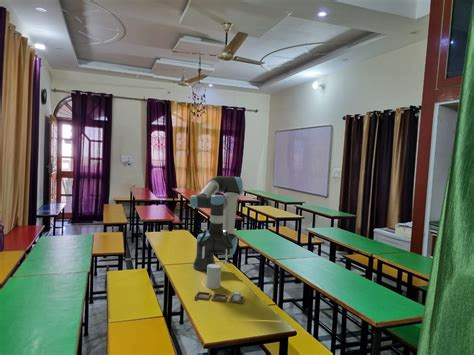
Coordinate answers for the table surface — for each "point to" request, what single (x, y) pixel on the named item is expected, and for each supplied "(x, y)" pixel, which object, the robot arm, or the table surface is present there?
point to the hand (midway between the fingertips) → (214, 259)
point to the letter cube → (236, 296)
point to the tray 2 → (219, 297)
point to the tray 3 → (236, 301)
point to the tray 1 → (202, 295)
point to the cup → (213, 276)
